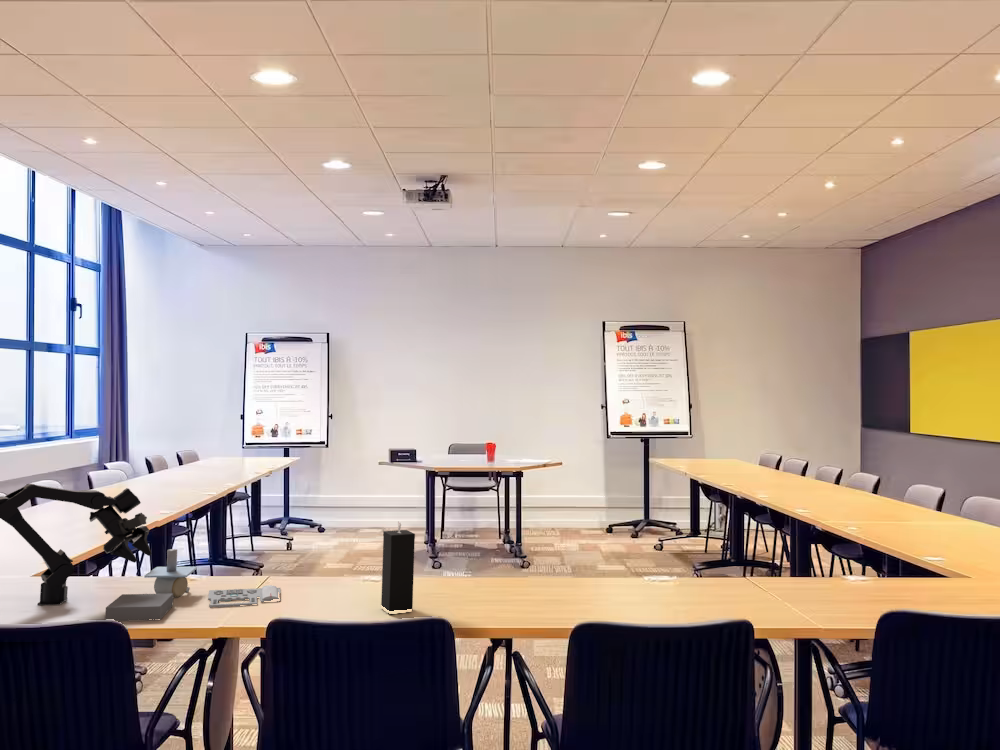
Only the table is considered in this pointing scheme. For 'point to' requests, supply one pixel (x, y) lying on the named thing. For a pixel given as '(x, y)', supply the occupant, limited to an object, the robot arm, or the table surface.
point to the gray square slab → (139, 607)
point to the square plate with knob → (171, 568)
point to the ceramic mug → (171, 585)
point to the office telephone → (242, 595)
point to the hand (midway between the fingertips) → (143, 558)
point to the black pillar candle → (398, 569)
